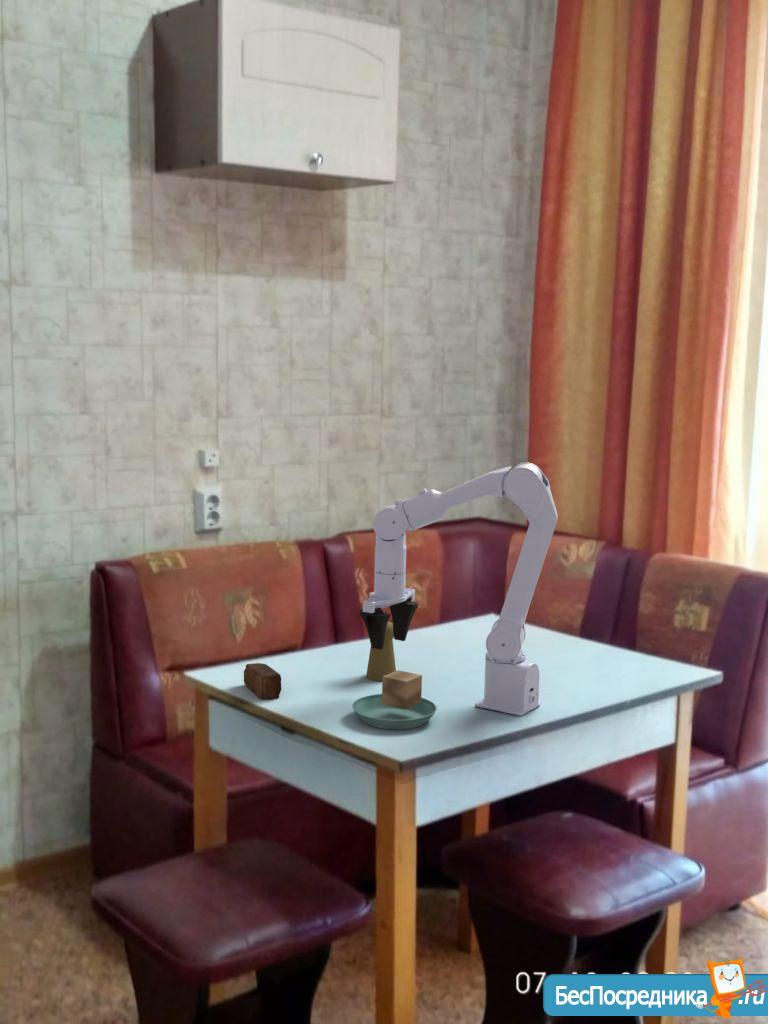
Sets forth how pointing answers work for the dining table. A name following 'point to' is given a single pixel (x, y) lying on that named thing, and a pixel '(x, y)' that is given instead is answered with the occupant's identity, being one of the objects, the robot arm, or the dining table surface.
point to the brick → (262, 680)
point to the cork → (382, 657)
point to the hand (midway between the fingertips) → (388, 644)
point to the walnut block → (401, 689)
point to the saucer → (392, 713)
